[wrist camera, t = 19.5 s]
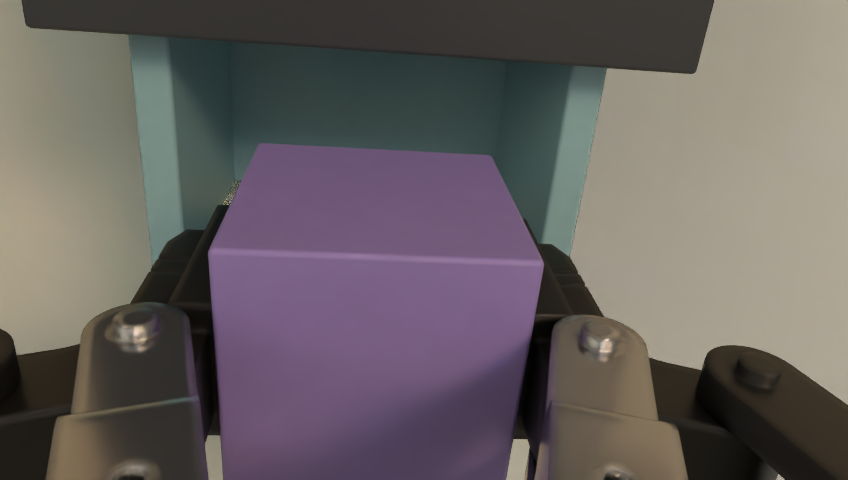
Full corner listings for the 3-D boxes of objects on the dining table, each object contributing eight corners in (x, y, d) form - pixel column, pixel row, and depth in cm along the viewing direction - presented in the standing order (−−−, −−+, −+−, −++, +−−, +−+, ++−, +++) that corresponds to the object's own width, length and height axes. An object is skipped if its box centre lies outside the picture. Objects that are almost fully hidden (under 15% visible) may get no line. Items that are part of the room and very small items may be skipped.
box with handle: (501, 360, 27) (548, 518, 20) (205, 353, 26) (145, 518, 19) (587, -178, 19) (715, -229, 12) (165, -224, 18) (34, -310, 11)
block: (263, 340, 14) (223, 503, 10) (258, 141, 12) (205, 249, 8) (467, 345, 14) (503, 503, 10) (492, 153, 12) (546, 262, 9)
